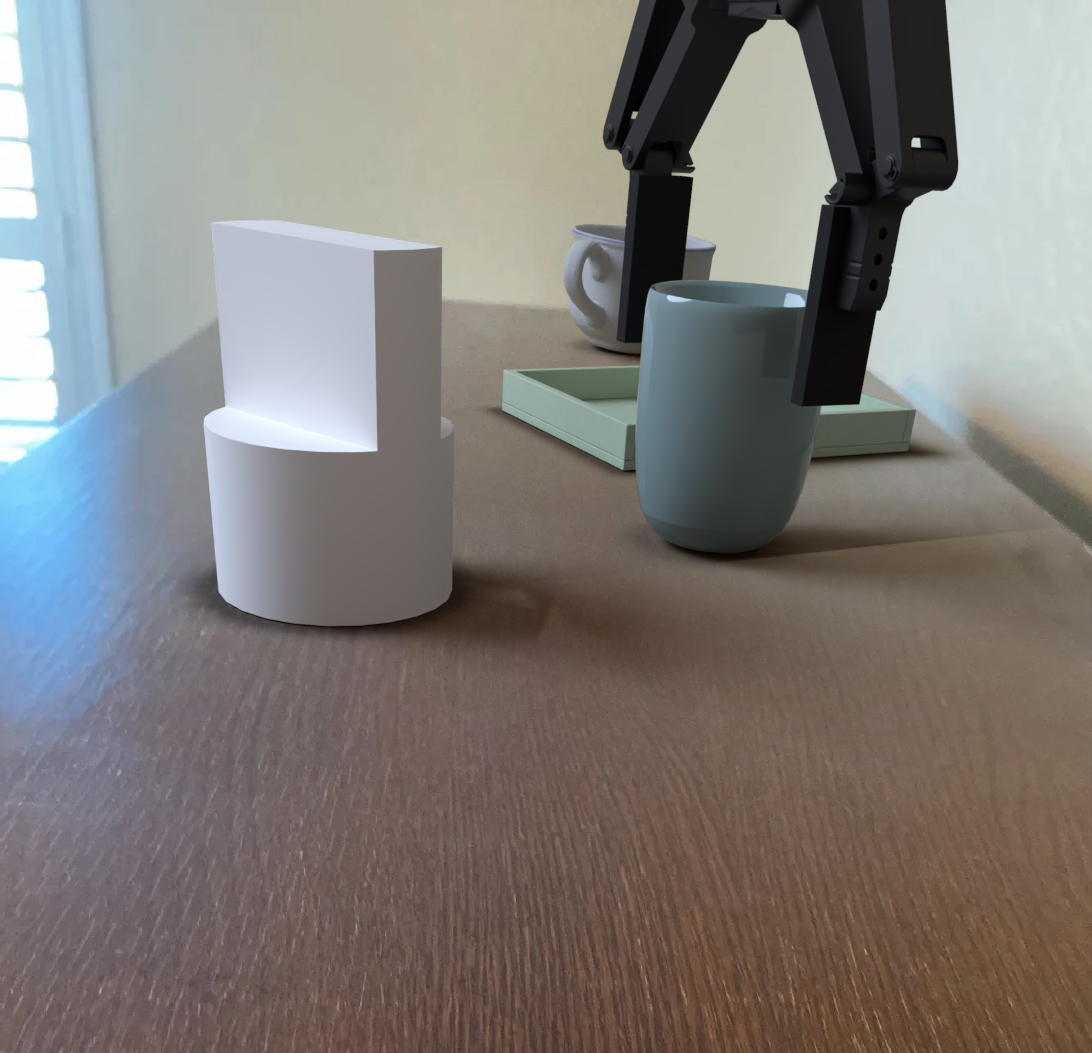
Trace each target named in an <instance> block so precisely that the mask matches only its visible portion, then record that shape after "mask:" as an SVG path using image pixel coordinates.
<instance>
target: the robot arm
mask: <svg viewBox="0 0 1092 1053" xmlns="http://www.w3.org/2000/svg"><path fill="white" fill-rule="evenodd" d="M768 21H785V22H786V24H788V25H789V26H791V27H792V28H793V29H794V30H795V31H796V32H797V34H798V38H799V42H800V46H801V49H802V53H803V56H804V60H805V64H806V68H807V71H808V75H809V79H810V84H811V87H812V91H813V95H814V98H815V102H816V106H817V110H818V114H819V117H820V122H821V125H822V129H823V133H824V136H825V140H826V145H827V148H828V152H829V156H830V158H831V163H832V167H833V171H834V174H835V178H836V182H835V183H834V184H833V185H832V186H831V188H830V189H829V190H828V193H829V194H826V193H825V195H824V196H823V198H824V199H825V202H826V203H827V204H821V205H820V213H819V220H818V225H817V231H816V238H815V244H814V251H813V256H812V264H811V270H810V276H809V283H808V289H807V290H808V295H807V301H806V307H805V314H804V320H803V326H802V333H801V339H800V346H799V352H798V358H797V365H796V371H795V377H794V384H793V390H792V396H791V403H793V404H796V405H799V406H802V407H806V406H834V405H859V404H860V399H861V394H862V392H863V388H864V382H865V378H866V377H865V376H866V371H867V366H868V361H869V355H870V350H871V345H872V339H873V334H874V328H875V324H876V323H875V322H876V319H877V318H876V317H877V312H881V311H882V309H883V306H884V304H885V302H886V299H887V297H888V292H889V288H890V283H891V278H890V277H891V276H892V271H893V266H892V265H893V264H894V261H895V256H896V251H897V250H896V249H897V246H898V245H897V244H898V240H899V233H900V228H901V224H902V220H903V215H904V213H905V211H906V210H907V208H908V207H909V206H911V205H912V204H913V202H914V201H915V200H916V199H917V198H920V197H922V196H923V195H926V194H928V193H930V192H932V191H933V192H944V191H947V190H949V189H950V188H951V187H952V186H953V184H954V183H955V180H956V179H957V176H958V173H959V150H958V139H957V138H958V137H957V126H956V112H955V102H954V100H955V99H954V89H953V77H952V65H951V62H952V61H951V52H950V38H949V37H950V36H949V26H948V25H949V24H948V14H947V2H946V0H639V1H638V4H637V7H636V11H635V15H634V18H633V22H632V26H631V28H630V33H629V37H628V38H627V43H626V46H625V50H624V54H623V58H622V61H621V65H620V68H619V72H618V74H617V78H616V82H615V86H614V89H613V93H612V96H611V100H610V104H609V107H608V112H607V114H606V118H605V121H604V125H603V129H602V141H603V146H604V147H605V149H607V150H608V151H617V152H618V153H619V154H620V155H621V162H622V166H623V168H624V169H625V170H626V171H629V176H628V177H629V179H628V180H629V182H628V190H627V191H628V192H627V204H626V216H625V226H626V227H625V237H624V244H625V245H624V257H623V269H622V280H621V292H620V304H619V316H618V327H617V339H616V340H617V341H620V342H623V343H642V336H643V326H644V316H645V307H646V301H647V295H648V291H649V289H650V287H651V286H652V285H654V284H656V283H660V282H666V281H677V280H682V279H683V269H684V260H685V251H686V242H687V235H688V233H689V232H688V230H689V221H690V213H691V205H692V204H691V203H692V196H693V195H692V194H693V185H694V177H693V176H688V175H674V174H692V173H694V172H695V170H696V167H695V166H694V165H695V164H694V161H693V158H692V156H691V153H690V151H691V150H692V147H693V145H694V143H695V142H696V140H697V137H698V135H699V134H700V132H701V130H702V128H703V126H704V123H705V122H706V120H707V118H708V115H709V114H710V112H711V110H712V108H713V105H714V103H715V102H716V100H717V98H718V96H719V94H720V92H721V91H722V89H723V86H724V84H725V82H726V80H727V79H728V77H729V75H730V73H731V70H732V69H733V66H734V65H735V63H736V61H737V59H738V57H739V55H740V53H741V51H742V49H743V47H744V45H745V43H746V41H747V39H748V38H749V37H750V36H751V35H753V34H755V33H757V32H759V31H761V29H763V28H764V27H765V25H766V23H767V22H768ZM634 112H635V113H637V114H636V116H635V118H632V116H633V113H634ZM913 139H919V144H920V146H918V147H917V146H912V144H913Z"/></svg>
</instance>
